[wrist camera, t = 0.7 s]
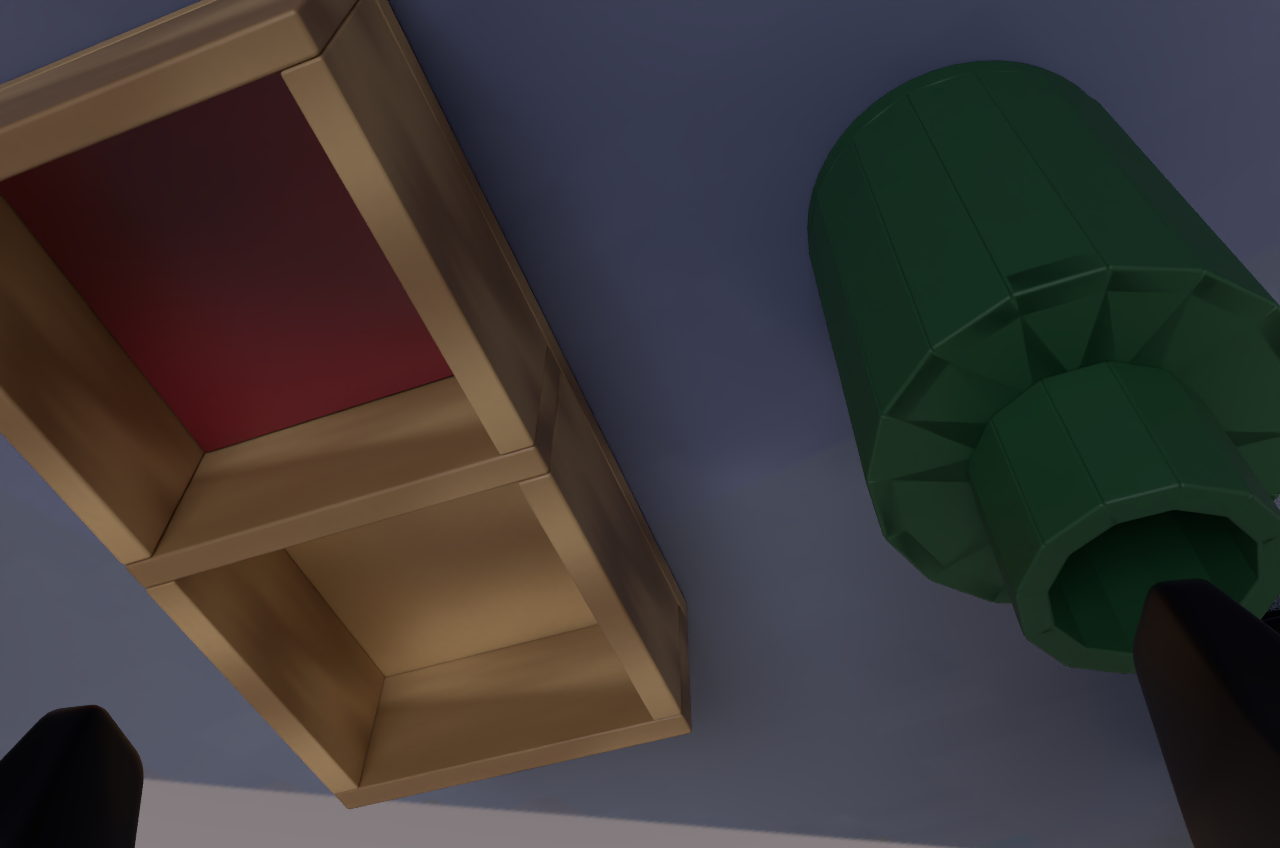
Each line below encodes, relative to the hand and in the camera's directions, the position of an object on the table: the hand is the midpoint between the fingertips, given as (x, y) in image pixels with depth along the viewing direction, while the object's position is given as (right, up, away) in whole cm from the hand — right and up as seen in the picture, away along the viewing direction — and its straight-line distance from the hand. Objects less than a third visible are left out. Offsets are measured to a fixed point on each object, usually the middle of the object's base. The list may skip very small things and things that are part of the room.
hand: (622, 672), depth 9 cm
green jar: (+6, +6, +12) cm, 15 cm away
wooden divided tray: (-6, +3, +14) cm, 16 cm away
